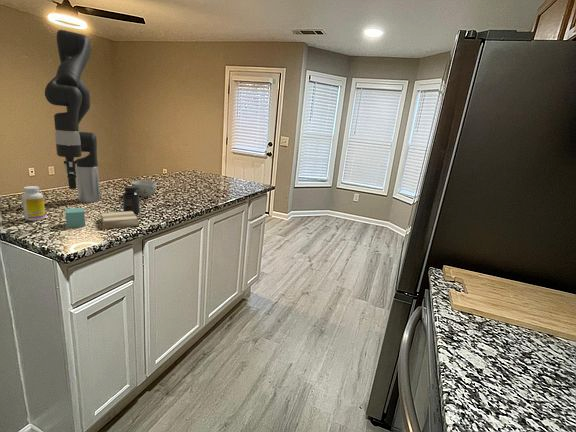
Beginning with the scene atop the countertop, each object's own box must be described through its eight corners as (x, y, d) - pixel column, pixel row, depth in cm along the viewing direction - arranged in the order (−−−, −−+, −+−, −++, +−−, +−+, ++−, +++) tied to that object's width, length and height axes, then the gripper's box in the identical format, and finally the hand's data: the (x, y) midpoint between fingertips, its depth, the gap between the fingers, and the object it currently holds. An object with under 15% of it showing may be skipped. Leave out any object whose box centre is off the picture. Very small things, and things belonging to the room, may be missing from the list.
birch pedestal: (101, 219, 131) (100, 212, 130) (132, 217, 137) (132, 210, 137) (104, 228, 121) (103, 221, 121) (137, 225, 128) (137, 218, 127)
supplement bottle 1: (50, 218, 126) (46, 187, 123) (32, 222, 120) (28, 189, 117) (38, 215, 128) (34, 184, 125) (20, 219, 122) (15, 187, 118)
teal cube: (66, 223, 123) (65, 208, 121) (84, 222, 126) (83, 207, 125) (66, 228, 118) (65, 213, 117) (85, 226, 122) (84, 211, 120)
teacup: (127, 195, 171) (126, 181, 169) (146, 192, 182) (146, 179, 180) (145, 200, 165) (144, 186, 163) (164, 197, 175) (164, 183, 173)
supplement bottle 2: (143, 212, 146) (142, 187, 143) (130, 215, 140) (129, 189, 137) (132, 209, 149) (131, 184, 145) (120, 212, 143) (118, 186, 139)
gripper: (55, 140, 117) (60, 183, 121) (55, 144, 106) (60, 190, 110) (79, 142, 121) (83, 182, 126) (81, 145, 110) (85, 190, 115)
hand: (72, 186), depth 118 cm, fingers open, 8 cm apart
